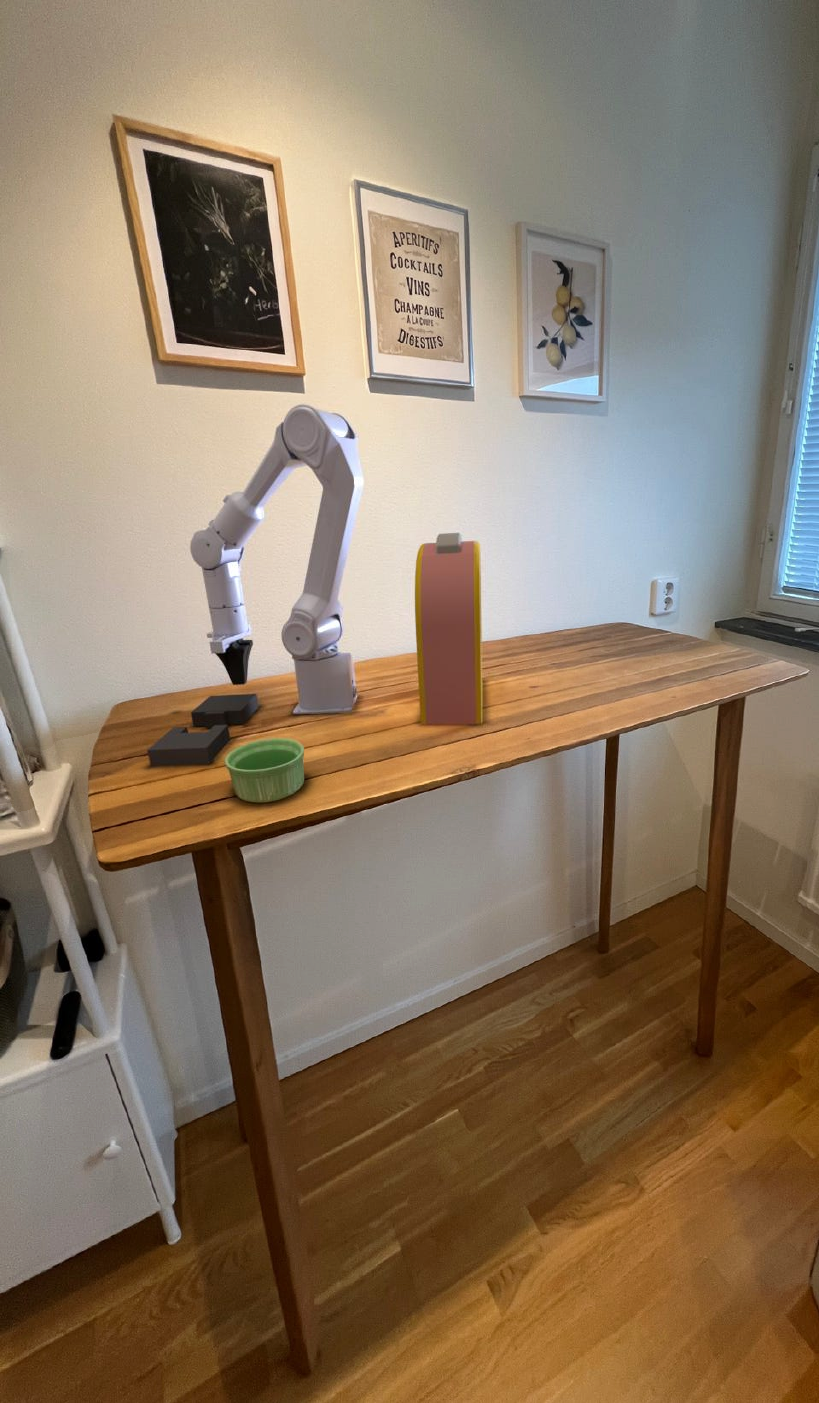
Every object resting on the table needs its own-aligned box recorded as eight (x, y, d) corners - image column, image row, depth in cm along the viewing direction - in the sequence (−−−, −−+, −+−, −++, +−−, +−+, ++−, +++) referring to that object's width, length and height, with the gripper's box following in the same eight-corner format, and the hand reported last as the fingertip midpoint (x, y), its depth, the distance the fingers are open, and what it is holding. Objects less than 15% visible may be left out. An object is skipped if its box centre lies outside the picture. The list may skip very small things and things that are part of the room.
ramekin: (269, 764, 71) (264, 733, 69) (324, 778, 66) (319, 744, 65) (214, 796, 64) (207, 761, 62) (271, 813, 59) (265, 776, 58)
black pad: (258, 707, 93) (256, 693, 92) (241, 726, 84) (239, 712, 83) (212, 709, 93) (210, 695, 92) (190, 729, 85) (187, 714, 84)
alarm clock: (482, 724, 80) (479, 535, 71) (420, 724, 81) (410, 538, 72) (482, 680, 99) (480, 528, 91) (432, 681, 101) (425, 531, 92)
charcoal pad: (230, 739, 80) (227, 724, 79) (209, 764, 72) (206, 747, 71) (176, 742, 80) (173, 726, 79) (150, 766, 72) (146, 749, 72)
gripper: (219, 599, 98) (231, 672, 103) (185, 614, 84) (201, 698, 89) (257, 597, 98) (268, 671, 102) (229, 612, 84) (243, 696, 88)
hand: (239, 683), depth 95 cm, fingers closed
